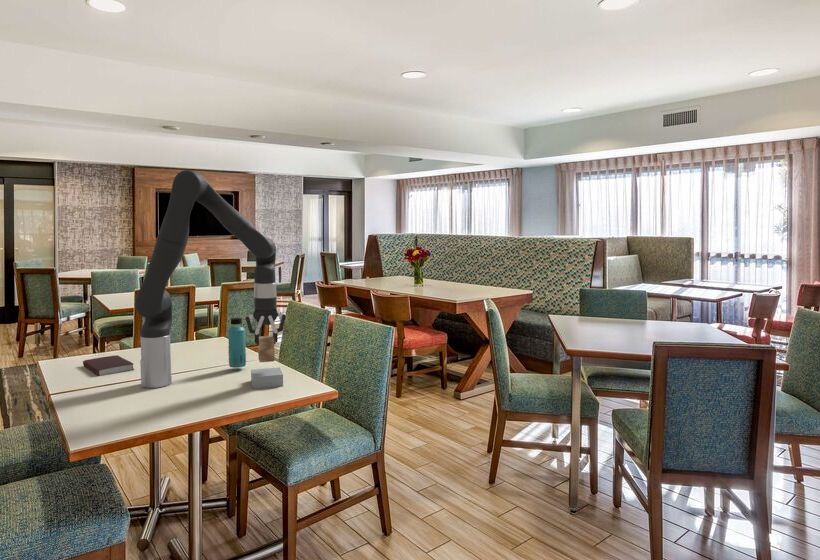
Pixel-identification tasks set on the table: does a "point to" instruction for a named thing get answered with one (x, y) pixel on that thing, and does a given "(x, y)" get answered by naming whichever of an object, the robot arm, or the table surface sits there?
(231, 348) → the beverage bottle
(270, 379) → the base plinth
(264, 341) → the walnut block
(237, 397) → the table surface
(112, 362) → the book
